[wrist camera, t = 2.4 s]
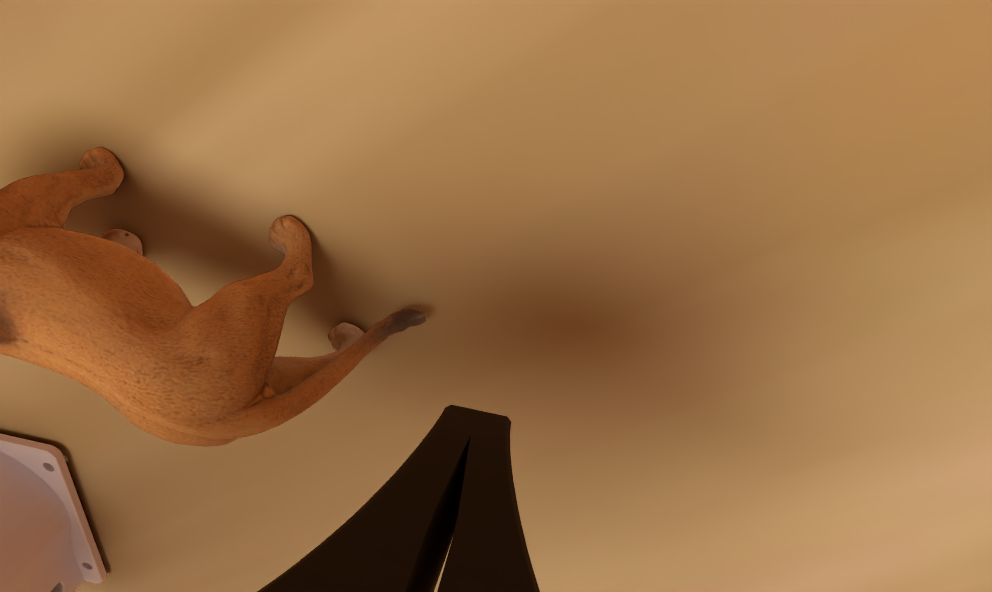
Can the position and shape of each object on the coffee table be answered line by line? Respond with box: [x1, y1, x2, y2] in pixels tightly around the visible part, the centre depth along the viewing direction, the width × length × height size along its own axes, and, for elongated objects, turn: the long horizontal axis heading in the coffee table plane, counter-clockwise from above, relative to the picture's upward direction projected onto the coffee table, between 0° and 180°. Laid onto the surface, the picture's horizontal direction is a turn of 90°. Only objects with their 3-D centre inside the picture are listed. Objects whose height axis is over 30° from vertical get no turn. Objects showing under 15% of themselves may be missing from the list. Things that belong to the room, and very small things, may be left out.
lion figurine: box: [0, 147, 427, 447], centre depth 14 cm, size 15×5×9 cm, turn 78°
